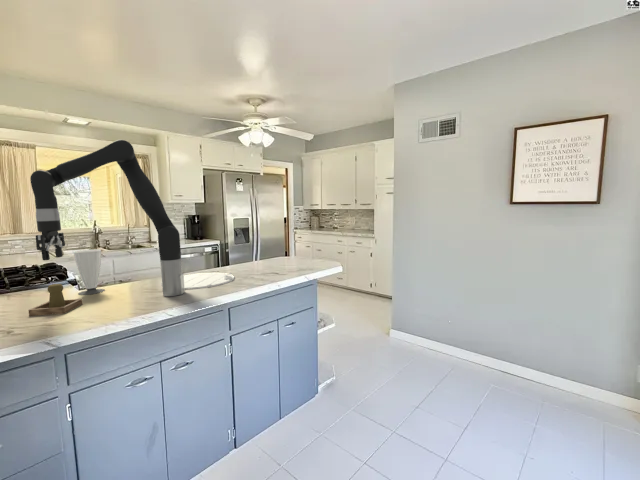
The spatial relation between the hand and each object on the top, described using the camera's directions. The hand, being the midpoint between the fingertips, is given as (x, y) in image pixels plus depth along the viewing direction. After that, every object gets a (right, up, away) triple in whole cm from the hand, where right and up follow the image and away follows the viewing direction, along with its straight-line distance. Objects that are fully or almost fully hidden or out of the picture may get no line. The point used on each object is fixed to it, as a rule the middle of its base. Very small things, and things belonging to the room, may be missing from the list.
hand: (53, 258), depth 137 cm
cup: (-6, -19, +31) cm, 37 cm away
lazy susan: (+43, -16, +51) cm, 69 cm away
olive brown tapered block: (0, -22, +2) cm, 22 cm away
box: (0, -22, +2) cm, 22 cm away
